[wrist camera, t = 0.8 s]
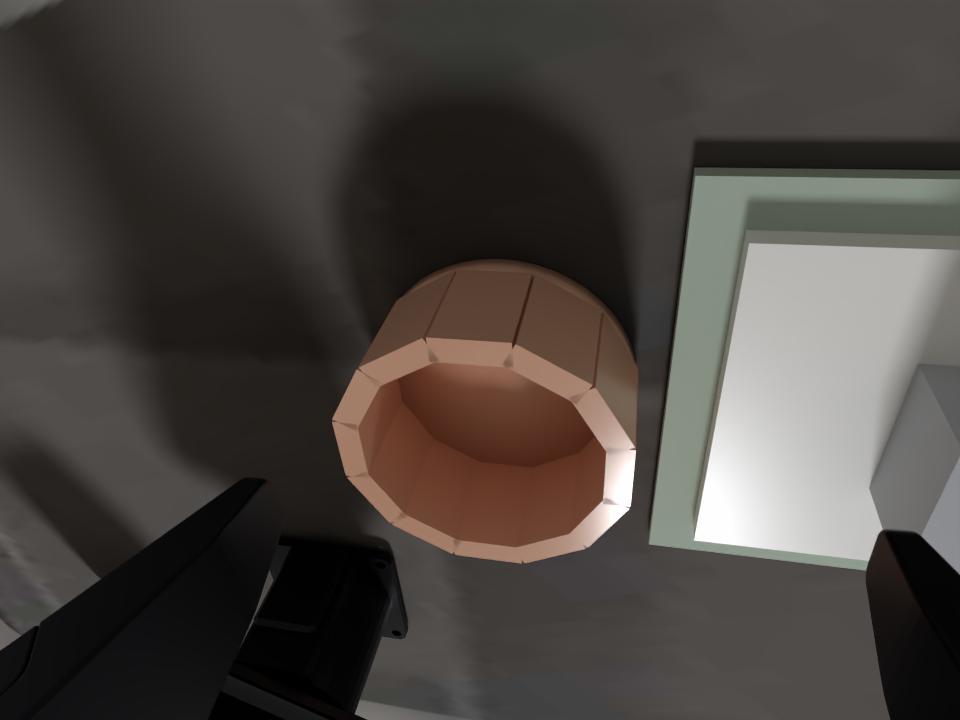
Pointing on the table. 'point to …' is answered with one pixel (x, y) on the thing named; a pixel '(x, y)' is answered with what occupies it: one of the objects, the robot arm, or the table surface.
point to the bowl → (495, 413)
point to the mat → (711, 287)
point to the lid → (837, 396)
